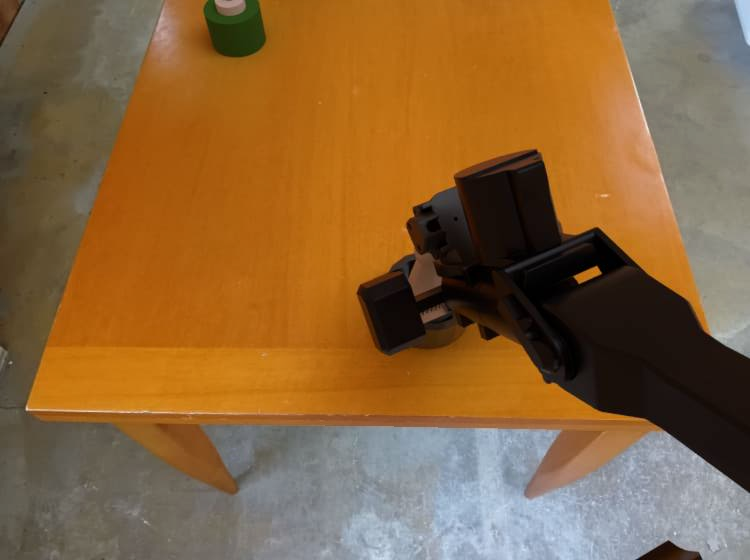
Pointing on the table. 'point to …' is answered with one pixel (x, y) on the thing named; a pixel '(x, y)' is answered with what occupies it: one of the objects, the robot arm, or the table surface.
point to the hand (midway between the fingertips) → (429, 267)
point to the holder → (436, 332)
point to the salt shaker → (425, 279)
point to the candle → (235, 26)
